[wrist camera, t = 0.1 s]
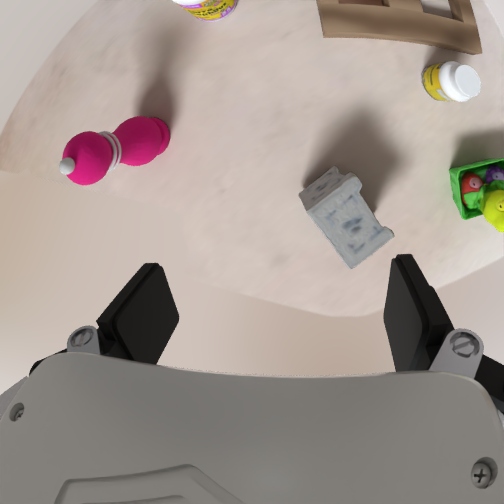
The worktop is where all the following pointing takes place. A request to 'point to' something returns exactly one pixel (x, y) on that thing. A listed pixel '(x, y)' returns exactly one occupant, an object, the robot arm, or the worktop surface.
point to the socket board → (401, 23)
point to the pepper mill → (113, 149)
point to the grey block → (344, 216)
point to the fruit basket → (480, 190)
